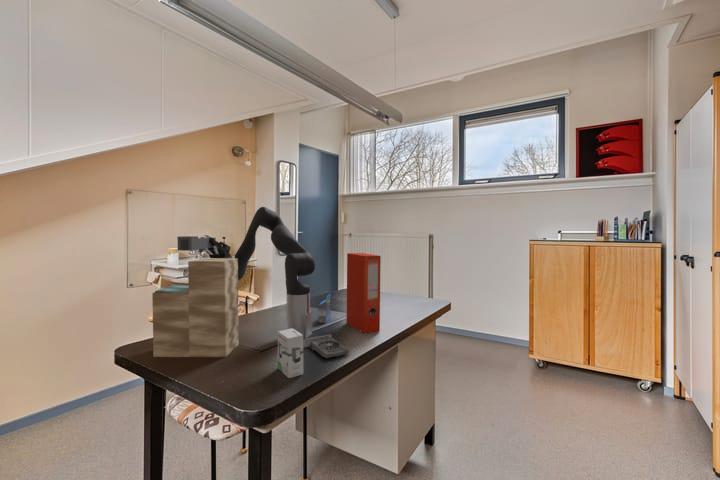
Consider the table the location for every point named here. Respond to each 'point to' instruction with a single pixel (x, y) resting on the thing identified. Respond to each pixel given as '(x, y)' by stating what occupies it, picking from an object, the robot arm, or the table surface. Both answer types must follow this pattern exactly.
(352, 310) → the file binder
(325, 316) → the label tape cartridge
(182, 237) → the plug bar
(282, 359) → the ink box
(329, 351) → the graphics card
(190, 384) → the table surface
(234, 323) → the stand
